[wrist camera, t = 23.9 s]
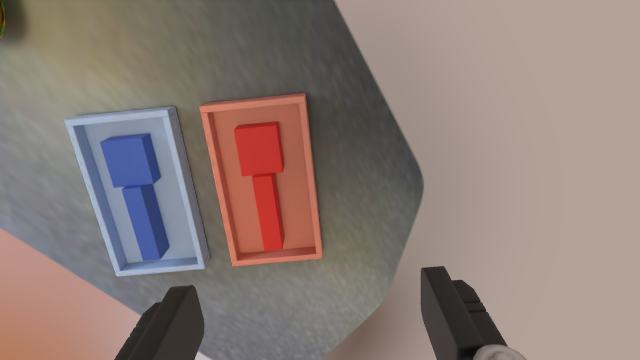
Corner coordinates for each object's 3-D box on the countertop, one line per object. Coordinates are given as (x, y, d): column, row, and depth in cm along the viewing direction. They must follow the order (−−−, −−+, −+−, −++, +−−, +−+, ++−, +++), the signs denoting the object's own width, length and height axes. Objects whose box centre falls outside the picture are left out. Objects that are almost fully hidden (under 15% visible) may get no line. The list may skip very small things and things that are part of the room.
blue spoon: (179, 246, 39) (170, 258, 37) (143, 249, 39) (132, 262, 37) (149, 133, 35) (138, 139, 33) (109, 137, 35) (95, 143, 33)
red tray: (205, 102, 34) (199, 106, 33) (305, 92, 34) (304, 95, 32) (236, 256, 40) (232, 266, 38) (322, 248, 40) (322, 258, 38)
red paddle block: (294, 236, 39) (292, 248, 36) (257, 239, 39) (253, 252, 37) (278, 121, 35) (275, 126, 32) (237, 125, 35) (231, 130, 32)
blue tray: (77, 115, 35) (63, 120, 33) (175, 105, 35) (167, 109, 33) (125, 265, 40) (116, 276, 38) (210, 258, 40) (205, 269, 38)
